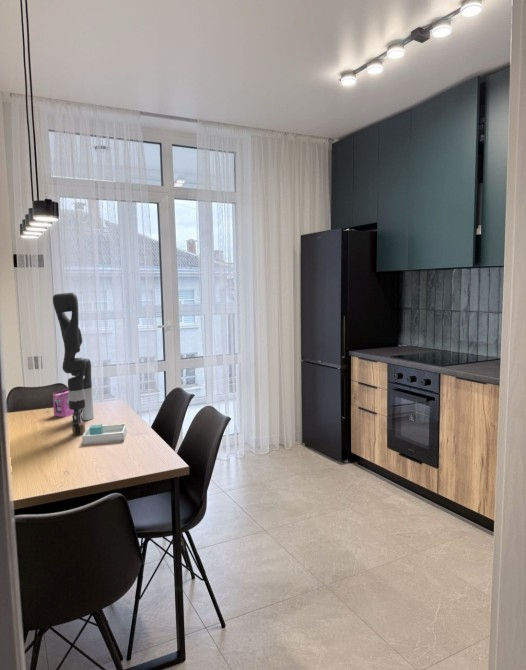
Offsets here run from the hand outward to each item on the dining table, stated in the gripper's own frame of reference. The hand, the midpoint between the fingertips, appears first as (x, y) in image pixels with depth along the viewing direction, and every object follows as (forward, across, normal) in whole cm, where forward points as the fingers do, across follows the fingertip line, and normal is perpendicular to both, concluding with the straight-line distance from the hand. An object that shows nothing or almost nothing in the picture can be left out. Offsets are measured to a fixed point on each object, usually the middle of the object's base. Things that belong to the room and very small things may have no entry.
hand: (78, 432), depth 232 cm
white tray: (0, +12, +14) cm, 18 cm away
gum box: (+1, -48, -12) cm, 49 cm away
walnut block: (0, 0, 0) cm, 0 cm away
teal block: (-1, +12, +10) cm, 16 cm away
